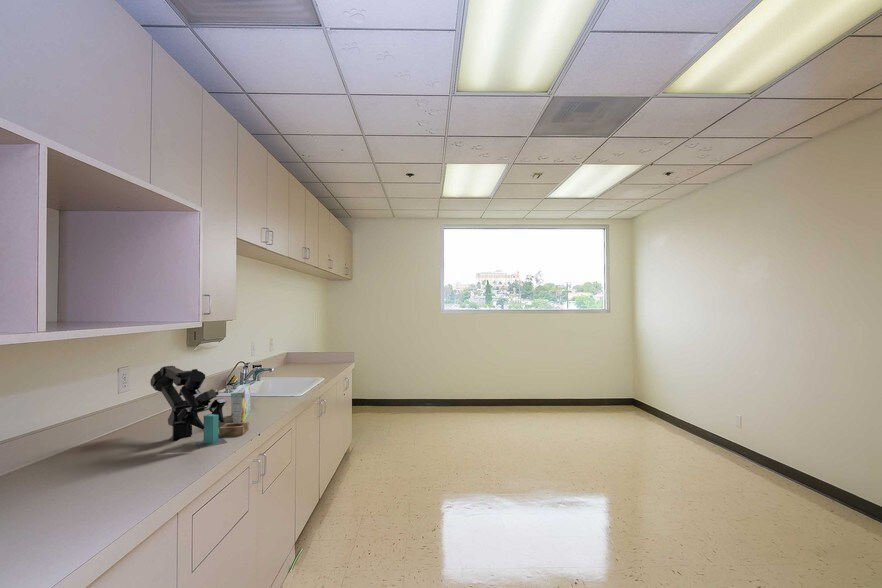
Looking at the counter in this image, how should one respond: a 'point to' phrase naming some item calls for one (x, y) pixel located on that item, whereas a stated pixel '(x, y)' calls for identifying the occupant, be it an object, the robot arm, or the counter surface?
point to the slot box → (233, 429)
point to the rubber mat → (202, 445)
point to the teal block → (211, 428)
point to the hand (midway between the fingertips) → (213, 425)
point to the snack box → (240, 403)
